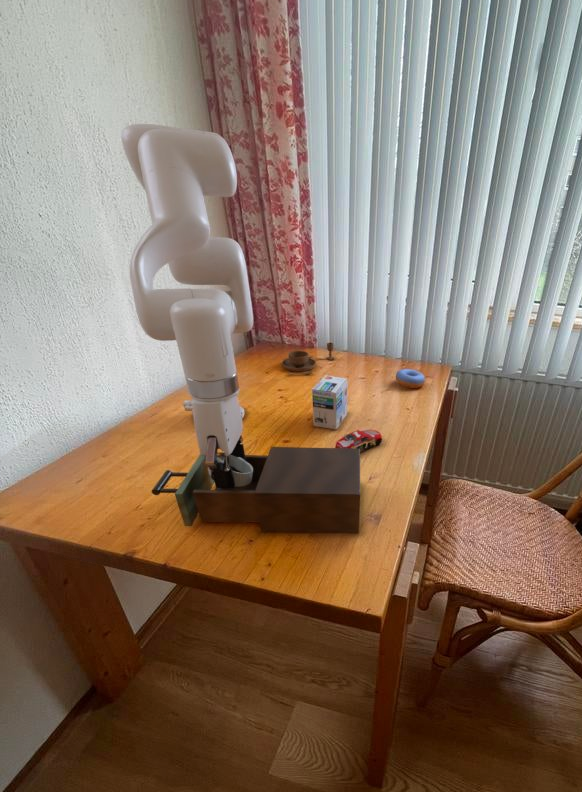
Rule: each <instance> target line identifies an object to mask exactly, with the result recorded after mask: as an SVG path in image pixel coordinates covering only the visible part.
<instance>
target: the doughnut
mask: <svg viewBox="0 0 582 792" xmlns="http://www.w3.org/2000/svg"><path fill="white" fill-rule="evenodd" d="M395 381H396V382H397V384H399V385H401V386H402V387H405V388H409V389H418V388H421V387H422V386H423V385H424V384H425V381H426V378H425V375H424V374H423V373H421V372H420V371H418V370H415V369H411V368H401V369H399V370H398V371H396V373H395Z"/></svg>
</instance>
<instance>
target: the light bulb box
mask: <svg viewBox="0 0 582 792" xmlns="http://www.w3.org/2000/svg"><path fill="white" fill-rule="evenodd" d="M311 397H312V414H313V415H312V416H313V417H312V418H313V426H314V427H317V428H323V429H324V428H325V429H330V430H338V428H339V427H340V425H341V424H342V422H343V421H344V419H345V418H346V417H347V415H348V378H346V377H345V378H344V377H338V376H332V375H324V376H323V377H322V378H321V379H320V380H319V381H318V382H317V383H316V384H315V385H314V387H313V388H311Z"/></svg>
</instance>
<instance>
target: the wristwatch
mask: <svg viewBox="0 0 582 792" xmlns="http://www.w3.org/2000/svg"><path fill="white" fill-rule="evenodd" d="M217 461H218V462H221V463H223V464H224V457H221V456H217ZM229 466H232V467H234V468H236V469H237V470H239V471H240V472H243V473H239V472H235V471H233V470H232V471H233V477H234V482H235V486H238V487H240V486H246V485H248V484H249V483H251V481H252V475H253V467H252V466H251V465H250V464H249V463H248V462H246V461H245V460H244V459H242V458H241V457H235V456H232V455H229ZM229 468H230V467H229ZM208 472H209V475H210V476H211V478H212V480H213V481H214V477H213V473H212V471H211V470H210V469H209V467H208Z"/></svg>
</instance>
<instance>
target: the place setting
mask: <svg viewBox="0 0 582 792" xmlns="http://www.w3.org/2000/svg"><path fill="white" fill-rule="evenodd" d="M326 350H327V351H328V356H327V357H326V360H328V361H334V360H335V358H334V357H333V354H332V351H334V343H333V342H327V343H326ZM281 365H282V367H283V368H284V369H285V370H287V371H290V372H293V373H289V374H287V376H293V375H300V374H302V375H310V374H312V373H313V371H312V370H313V369H314V368H315V367H316V365H317V361H316V360H315V359H314V358H313V356H312V355H310V356H309V353H308V352H307V351H303V350H293V351H289V353H288V358H285V359H283V360H282V361H281Z"/></svg>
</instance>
